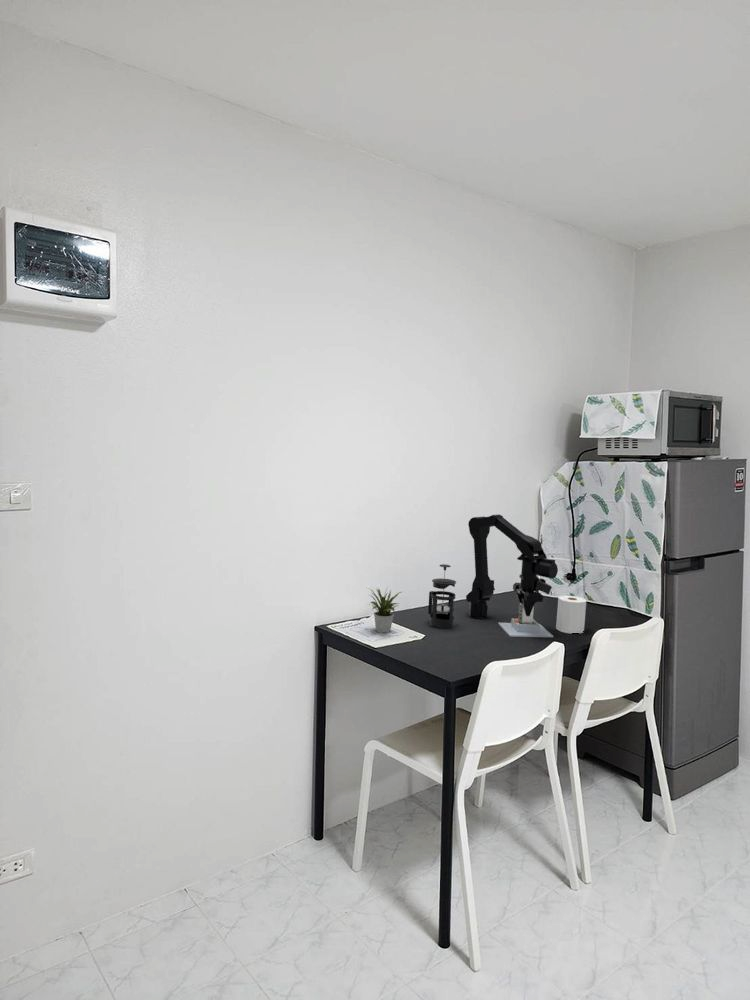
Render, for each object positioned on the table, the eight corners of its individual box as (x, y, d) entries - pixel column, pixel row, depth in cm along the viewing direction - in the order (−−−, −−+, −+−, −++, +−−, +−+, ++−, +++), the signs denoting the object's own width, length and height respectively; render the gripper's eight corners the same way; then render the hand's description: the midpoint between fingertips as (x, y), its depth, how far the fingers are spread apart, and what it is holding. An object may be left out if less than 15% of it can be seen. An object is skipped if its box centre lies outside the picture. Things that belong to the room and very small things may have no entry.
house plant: (353, 632, 251) (355, 587, 249) (368, 622, 264) (370, 579, 262) (391, 638, 246) (393, 592, 244) (404, 628, 258) (406, 584, 257)
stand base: (509, 636, 255) (510, 625, 255) (498, 623, 271) (499, 613, 270) (553, 637, 256) (553, 626, 256) (539, 624, 272) (539, 614, 272)
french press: (460, 626, 265) (464, 566, 262) (443, 630, 258) (447, 568, 256) (437, 619, 273) (440, 560, 271) (420, 623, 267) (423, 563, 264)
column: (520, 625, 261) (521, 605, 260) (517, 622, 265) (518, 602, 264) (532, 625, 262) (533, 605, 261) (529, 622, 266) (530, 603, 265)
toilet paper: (585, 635, 261) (588, 603, 260) (556, 632, 263) (559, 600, 262) (582, 627, 271) (585, 596, 270) (554, 625, 273) (557, 594, 272)
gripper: (559, 579, 253) (555, 622, 255) (542, 568, 271) (539, 608, 273) (528, 578, 252) (525, 621, 254) (513, 568, 270) (511, 607, 272)
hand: (526, 614), depth 263 cm, fingers closed on column, 4 cm apart
